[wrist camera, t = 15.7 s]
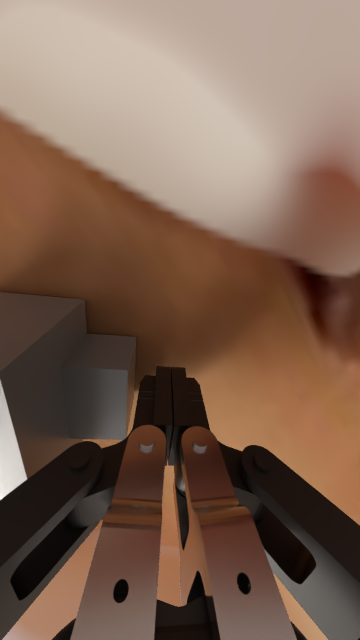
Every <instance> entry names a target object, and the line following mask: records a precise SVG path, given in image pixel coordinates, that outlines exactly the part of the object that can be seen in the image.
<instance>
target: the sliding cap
mask: <svg viewBox="0 0 360 640" xmlns="http://www.w3.org/2000/svg"><path fill="white" fill-rule="evenodd" d="M136 341H137V337H129V336H116V335H102V334H89V333H87V327H86V310H85V300H83V299H72V298H62V297H51V296H40V295H29V294H18V293H7V292H0V500H1V499H2V498H3V497H5V496H6V495H7V494H9V493H10V492H11V491H13V490H14V489H15V488H17V487H18V486H19V485H21V484H22V483H23V482H24V481H26V480H27V479H28V478H30V477H31V476H32V475H34V474H35V473H36V472H38V471H39V470H40V469H41V468H43V467H44V466H45V465H47V464H48V463H49V462H51V461H52V460H53V459H55V458H56V457H57V456H59V455H60V454H61V453H62V452H64V451H65V450H66V449H68V448H69V447H71V446H72V445H74V444H77V443H79V442H82V441H83V439H117V440H124V439H125V438H126V436H127V431H128V426H129V420H130V415H131V409H132V404H133V399H134V384H135V363H136Z"/></svg>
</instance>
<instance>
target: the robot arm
mask: <svg viewBox="0 0 360 640" xmlns="http://www.w3.org/2000/svg"><path fill="white" fill-rule="evenodd" d="M167 460H168V465H174V473H175V478H174V483H173V491H174V501H175V511H176V522H177V532H178V542H179V554H180V567H179V570H180V571H179V572H180V573H179V574H180V594H181V604H182V607H177V606H173V605H171V604H168V603H165V602H163V601H160V600H157V586H158V571H159V556H160V542H161V527H162V497H163V483H164V469H165V466H167ZM100 520H103V522H102V526H101V529H100V533H99V537H98V540H97V544H96V548H95V551H94V555H93V559H92V562H91V566H90V570H89V573H88V577H87V581H86V584H85V588H84V592H83V595H82V599H81V603H80V606H79V610H78V614H77V617H76V618H75V619H74V620H72V621H71V622H70V623H69V624H68V625H67V626H65V627H64V628H63V629H62V630H61V631H60V632H59V633H58V634H57V635H56V636H55V637H54V638H53V639H52V640H307V639H306V638H305V636H304V635H303V634H302V633H301V632H300V631H299V630H298V629H297V627H296V626H295V625H294V624H293V623H292V622H291V621H290V619H289V616H288V614H287V611H286V608H285V605H284V603H283V600H282V597H281V594H280V592H279V589H278V586H277V584H276V581H275V578H274V575H273V573H274V574H275V575H276V576H277V578H278V579H279V580H280V581H281V582H282V584H283V585H284V586H285V587H286V589H287V590H288V591H289V592H290V593H291V595H292V596H293V597H294V598H295V600H296V601H297V602H298V603H299V604H300V606H301V607H302V608H303V609H304V610H305V612H306V613H307V614H308V615H309V616H310V618H311V619H312V620H313V621H314V623H315V624H316V625H317V626H318V627H319V629H320V630H321V631H322V632H323V633H324V635H325V636H326V637H327V638H328V640H360V525H358V524H357V523H356V522H355V521H353V520H352V519H351V518H350V517H349V516H347V515H346V514H345V513H344V512H343V511H341V510H340V509H339V508H338V507H336V506H335V505H334V504H333V503H332V502H330V501H329V500H328V499H327V498H326V497H324V496H323V495H322V494H321V493H320V492H318V491H317V490H316V489H315V488H313V487H312V486H311V485H310V484H309V483H307V482H306V481H305V480H304V479H303V478H301V477H300V476H299V475H298V474H296V473H295V472H294V471H293V470H292V469H290V468H289V467H288V466H287V465H286V464H284V463H283V462H282V461H281V460H279V459H278V458H277V457H276V456H275V455H273V454H272V453H271V452H270V451H268V450H267V449H265V448H263V447H261V446H257V445H250V446H247V447H246V448H245V449H244V450H243V452H242V451H239V450H236V449H233V448H231V447H228V446H225V445H223V444H222V443H220V442H219V441H218V440H217V439H216V437H215V435H214V434H213V433H212V432H211V431H210V428H209V424H208V419H207V415H206V411H205V406H204V402H203V398H202V395H201V389H200V385H199V384H198V382H197V381H196V380H195V378H186V372H185V368H181V367H171V370H170V367H163V366H157V367H156V376H147V375H146V376H145V377H144V378H143V379H142V381H141V382H140V387H139V394H138V400H137V406H136V412H135V418H134V424H133V429H132V431H131V433H130V434H129V435H128V437H127V438H125V439H124V440H123V441H121V442H120V443H118V444H115V445H112V446H109V447H105V448H102V449H101V447H100V446H99V445H98V444H96V443H94V442H90V441H84V442H79V443H77V444H74V445H72V446H71V447H69V448H68V449H66V450H65V451H64V452H62V453H61V454H60V455H59V456H57V457H56V458H55V459H53V460H52V461H51V462H49V463H48V464H47V465H45V466H44V467H43V468H41V469H40V470H39V471H38V472H36V473H35V474H34V475H32V476H31V477H30V478H28V479H27V480H26V481H24V482H23V483H22V484H21V485H19V486H18V487H17V488H15V489H14V490H13V491H11V492H10V493H9V494H7V495H6V496H5V497H3V498H2V499H1V500H0V640H2V639H3V638H4V637H5V635H6V634H7V633H8V632H9V630H10V629H11V628H12V627H13V626H14V624H15V623H16V622H17V621H18V620H19V618H20V617H21V616H22V615H23V614H24V612H25V611H26V610H27V609H28V608H29V606H30V605H31V604H32V603H33V602H34V600H35V599H36V598H37V597H38V596H39V594H40V593H41V592H42V591H43V590H44V588H45V587H46V586H47V585H48V584H49V582H50V581H51V580H52V579H53V578H54V576H55V575H56V574H57V573H58V572H59V570H60V569H61V568H62V567H63V566H64V564H65V563H66V562H67V561H68V559H69V558H70V557H71V556H72V555H73V554H74V552H75V551H76V550H77V549H78V548H79V546H80V545H81V544H82V543H83V542H84V540H85V539H86V538H87V537H88V536H89V534H90V533H91V532H92V531H93V530H94V528H95V527H96V526H97V525H98V523H99V522H100ZM238 585H239V586H238Z"/></svg>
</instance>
